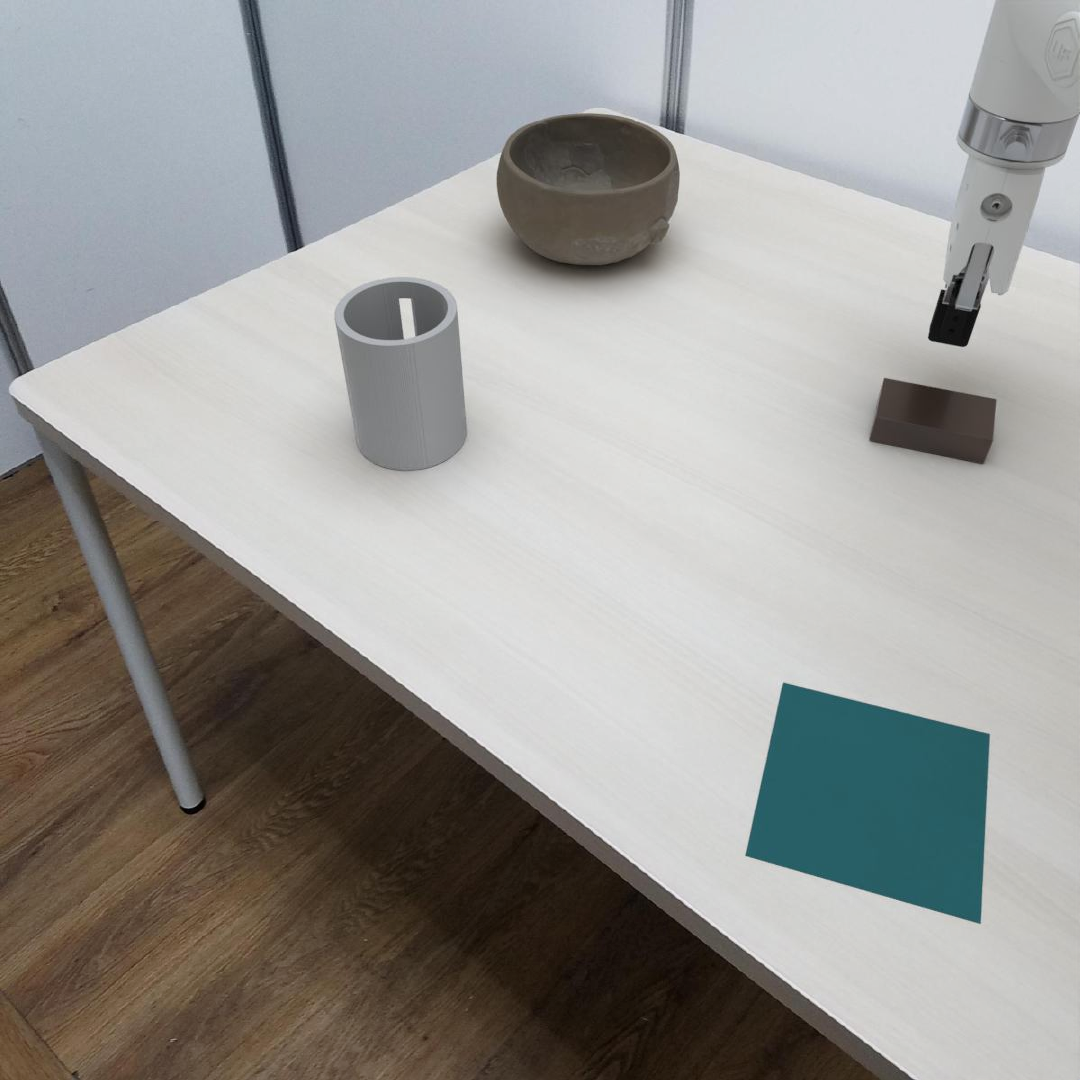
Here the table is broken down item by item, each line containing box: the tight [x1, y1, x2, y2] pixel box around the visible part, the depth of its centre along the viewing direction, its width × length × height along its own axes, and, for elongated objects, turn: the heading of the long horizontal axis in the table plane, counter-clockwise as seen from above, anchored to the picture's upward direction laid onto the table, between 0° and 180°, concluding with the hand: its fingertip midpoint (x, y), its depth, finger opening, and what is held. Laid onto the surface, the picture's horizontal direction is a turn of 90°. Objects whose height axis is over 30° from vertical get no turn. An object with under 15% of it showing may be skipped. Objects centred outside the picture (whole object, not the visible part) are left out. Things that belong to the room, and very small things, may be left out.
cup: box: [333, 276, 468, 471], centre depth 84 cm, size 9×9×12 cm
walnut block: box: [868, 377, 998, 465], centre depth 87 cm, size 9×6×2 cm, turn 70°
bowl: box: [496, 112, 681, 266], centre depth 106 cm, size 17×18×10 cm
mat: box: [745, 682, 991, 924], centre depth 64 cm, size 13×13×1 cm
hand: (947, 338), depth 89 cm, fingers closed
